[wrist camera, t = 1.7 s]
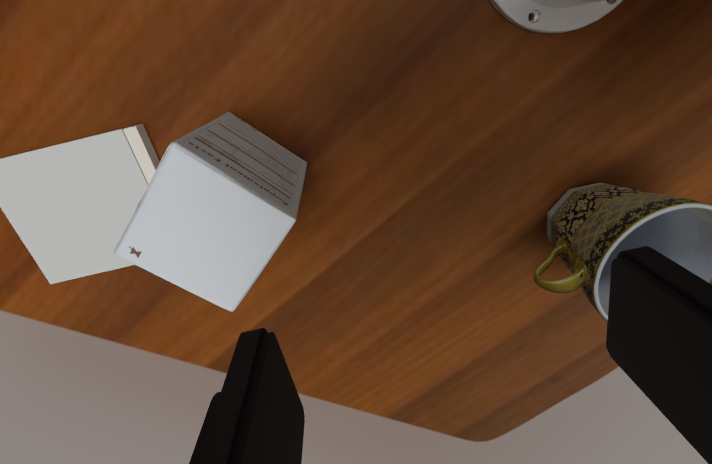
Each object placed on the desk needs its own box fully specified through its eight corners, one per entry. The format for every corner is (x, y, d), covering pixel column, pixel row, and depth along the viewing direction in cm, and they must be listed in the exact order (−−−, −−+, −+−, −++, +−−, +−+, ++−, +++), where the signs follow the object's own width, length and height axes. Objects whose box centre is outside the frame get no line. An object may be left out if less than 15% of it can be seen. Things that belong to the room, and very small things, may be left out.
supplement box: (264, 230, 34) (231, 318, 23) (185, 183, 32) (104, 254, 21) (311, 162, 32) (300, 221, 21) (229, 106, 30) (166, 139, 19)
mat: (124, 128, 30) (121, 129, 30) (181, 251, 35) (180, 254, 34) (-23, 164, 31) (-27, 165, 30) (53, 281, 35) (50, 284, 35)
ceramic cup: (642, 152, 33) (759, 189, 24) (631, 254, 38) (728, 318, 28) (491, 184, 34) (550, 232, 25) (497, 281, 38) (549, 353, 29)
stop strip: (142, 123, 30) (135, 126, 29) (198, 248, 35) (193, 254, 34) (130, 126, 30) (122, 129, 29) (187, 250, 35) (182, 257, 34)
